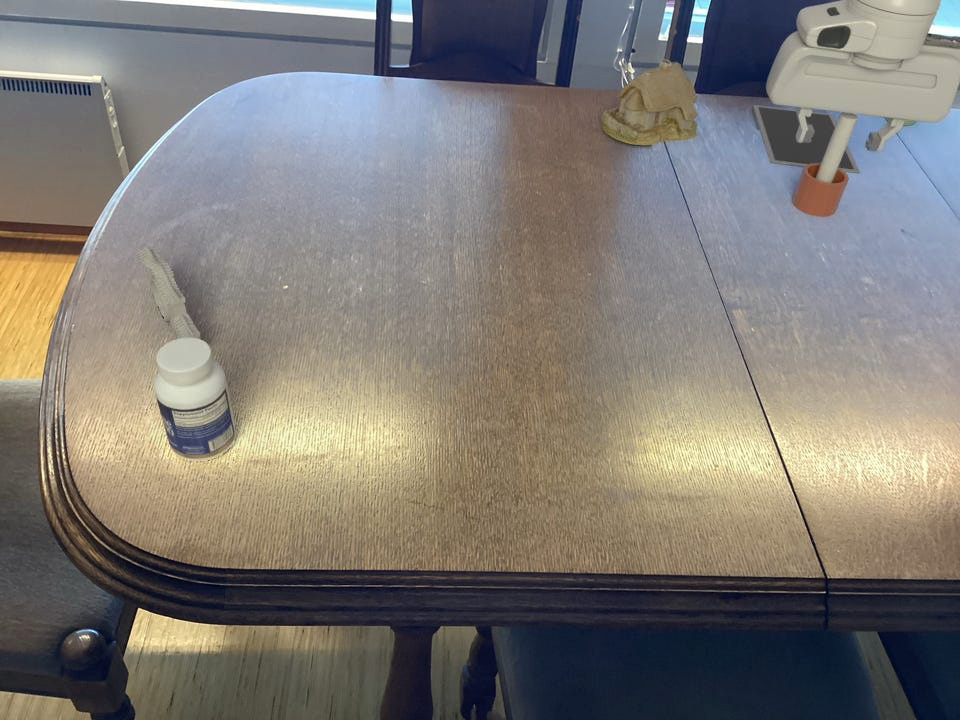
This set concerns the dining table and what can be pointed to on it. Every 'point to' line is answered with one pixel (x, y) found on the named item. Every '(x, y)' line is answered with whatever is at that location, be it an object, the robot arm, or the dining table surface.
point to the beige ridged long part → (168, 293)
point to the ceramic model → (654, 107)
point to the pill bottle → (193, 400)
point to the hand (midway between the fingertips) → (837, 145)
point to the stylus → (836, 147)
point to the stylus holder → (819, 192)
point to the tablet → (782, 140)
